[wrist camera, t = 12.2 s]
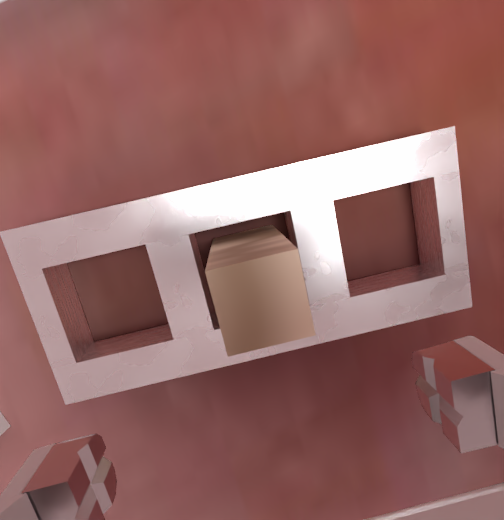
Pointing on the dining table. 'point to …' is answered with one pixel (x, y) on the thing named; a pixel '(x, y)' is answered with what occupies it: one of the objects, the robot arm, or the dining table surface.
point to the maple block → (258, 290)
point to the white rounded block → (3, 424)
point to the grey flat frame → (234, 211)
